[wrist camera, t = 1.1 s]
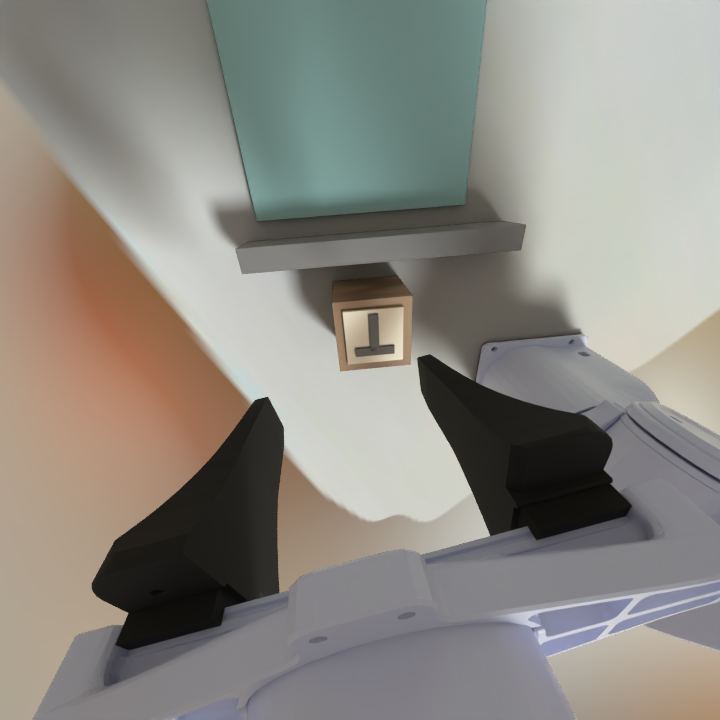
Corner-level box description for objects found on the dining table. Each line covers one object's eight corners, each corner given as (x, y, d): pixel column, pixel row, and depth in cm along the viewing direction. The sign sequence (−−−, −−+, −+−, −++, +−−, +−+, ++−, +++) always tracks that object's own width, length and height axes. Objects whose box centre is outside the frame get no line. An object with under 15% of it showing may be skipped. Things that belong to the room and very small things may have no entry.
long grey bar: (501, 220, 20) (526, 224, 18) (497, 243, 21) (520, 250, 18) (248, 241, 20) (235, 248, 17) (254, 264, 20) (242, 274, 18)
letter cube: (397, 275, 22) (413, 297, 17) (397, 334, 24) (411, 366, 20) (332, 281, 22) (331, 304, 17) (339, 339, 24) (340, 373, 20)
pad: (492, -85, 13) (496, -92, 13) (462, 204, 19) (464, 204, 19) (192, -70, 13) (188, -77, 13) (258, 220, 19) (256, 221, 19)
